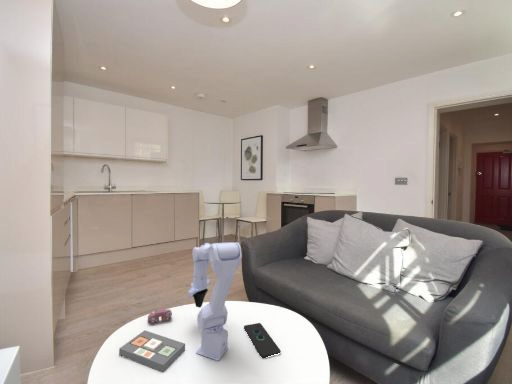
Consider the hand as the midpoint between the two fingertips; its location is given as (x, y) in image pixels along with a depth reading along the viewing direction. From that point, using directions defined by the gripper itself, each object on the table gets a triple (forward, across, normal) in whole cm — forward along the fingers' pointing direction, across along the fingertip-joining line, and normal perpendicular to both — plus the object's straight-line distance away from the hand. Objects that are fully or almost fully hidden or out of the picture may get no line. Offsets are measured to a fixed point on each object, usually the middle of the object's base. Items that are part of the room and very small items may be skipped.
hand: (198, 306), depth 111 cm
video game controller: (+10, +3, -18) cm, 20 cm away
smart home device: (+10, -4, +27) cm, 29 cm away
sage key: (+8, +20, 0) cm, 22 cm away
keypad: (+9, +20, -6) cm, 23 cm away
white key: (+7, +20, -6) cm, 22 cm away
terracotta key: (+8, +20, -12) cm, 25 cm away
